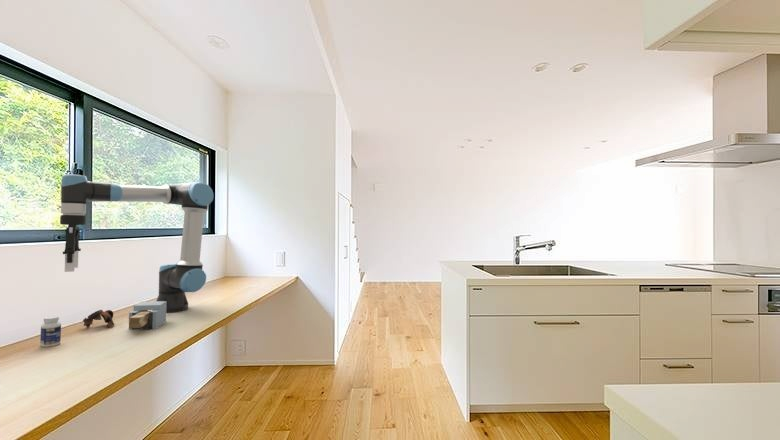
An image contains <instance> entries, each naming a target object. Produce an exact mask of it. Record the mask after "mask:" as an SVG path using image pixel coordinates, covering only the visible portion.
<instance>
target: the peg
mask: <svg viewBox="0 0 780 440" xmlns="http://www.w3.org/2000/svg"><path fill="white" fill-rule="evenodd" d="M151 311H152V310H148V311H141V312H139V313H138V314H136V315H134V316H132V317H130V318H129V317H128V329H129V328H141V327H142V326H144V325H145V324H147V323H149V312H151Z"/></svg>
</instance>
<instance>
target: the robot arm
mask: <svg viewBox="0 0 780 440" xmlns="http://www.w3.org/2000/svg"><path fill="white" fill-rule="evenodd" d="M60 187H61V188H60V204H61V205H59V206H58V209H60V213H61V215H60V216H59V217H60V219H59V224H60V225H64V226H65V225H66V226H67V227H66V229H65V246H64V251H62V255H64V272H65V273H67V272H69V273H71V272H75V269H76V268H79V252H81V251H82V248H80V243H79V241H80V233H81V230H80V227H79V226H84V225H86V221H87V220H86V219H87V217H86V213H87V203H90V202H109V203H110V202H111V203H112V202H128V203H129V202H133V203H134V202H136V203H138V202H139V203H140V202H142V203H143V202H145V203H147V202H148V203H151V202H156V203H158V202H160V203H161V202H162V203H163V204H165V205H166V204H167V205H178V206H181V209H182V211H183V212H184V215H183V223H182V225H183V226H182V234H181V235H182V238H181V247H180V248H181V249H180V259H179V261H178V262H176V263H172V264H164V265H163V264H162V265H160V267H159V271H158V296H157V298H156V301H167V307H166V313H176V312H180V311H181V312H182V311H186V310H188V309H189V300H188V298H187V296H186V293H196V292H198V291H199V290H201V289H202V288H203V287H204V286H205V285H206V281H207V274H206V272H205V271H204V270H203V267H204V265H203V263H202V262H201V252H202V240H203V227H204V218H205V217H204V216H205V215H204V214H205V213H206V212H207V211H208V210H209V206H210V205H211V203H212V202H213V201H214V192H213V189H212V187H210V185H209V184H207V183H206V182H201V181H194V182H193V181H192V182H182V183H177V184H175V183H174V184H163V185H161V186H160V185H159V186H157V185H156V186H155V185H154V186H152V185H130V184H118V183H113V182H96V181H89V180H88V177H87V176H86V175H83V174H82V175H81V174H69V173H67V174H66V173H65V174H63V175H62V177H61V184H60ZM78 225H79V226H78ZM156 301H155V302H156Z"/></svg>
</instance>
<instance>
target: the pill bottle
mask: <svg viewBox="0 0 780 440" xmlns="http://www.w3.org/2000/svg"><path fill="white" fill-rule="evenodd" d="M59 317H60V316H58V315H52V316H46V317H43V323H42V325H40V338H39V339H40V341H39V342H40V343H39V345H40V347H43V348H44V347H45V348H47V347H54V346H57V345H59V344H61V340H62V339H61V337H62V336H61V335H62V334H61V333H62V323H61V322H60V318H59Z"/></svg>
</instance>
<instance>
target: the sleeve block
mask: <svg viewBox="0 0 780 440" xmlns="http://www.w3.org/2000/svg"><path fill="white" fill-rule="evenodd" d="M166 307H167V301H141V302H138V303H137V304H134V305H133V310H132V311H129V313H128V319H129V318H130V317H132V316H134V315H136V314H138V313H139V312H141V311H151V312H149V323H147V324H145V325H144V326H142V327H141V328H129V327H128V330H131V331H137V330H139V331H141V330H156V329H158V328H159V327H161V326H162V325H163V324H164V323H166V322H167V312H166Z"/></svg>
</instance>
